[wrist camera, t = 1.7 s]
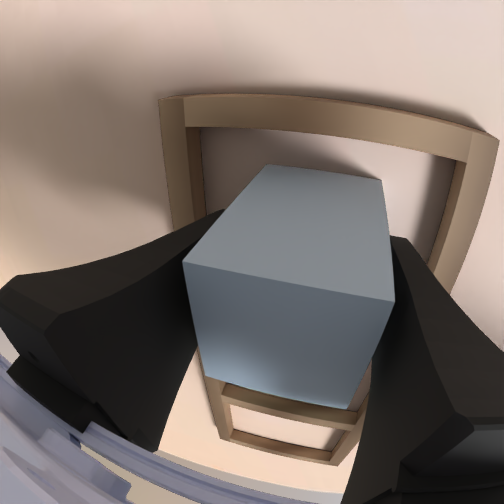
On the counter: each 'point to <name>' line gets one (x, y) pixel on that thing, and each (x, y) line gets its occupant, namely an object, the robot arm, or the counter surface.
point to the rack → (333, 124)
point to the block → (294, 285)
